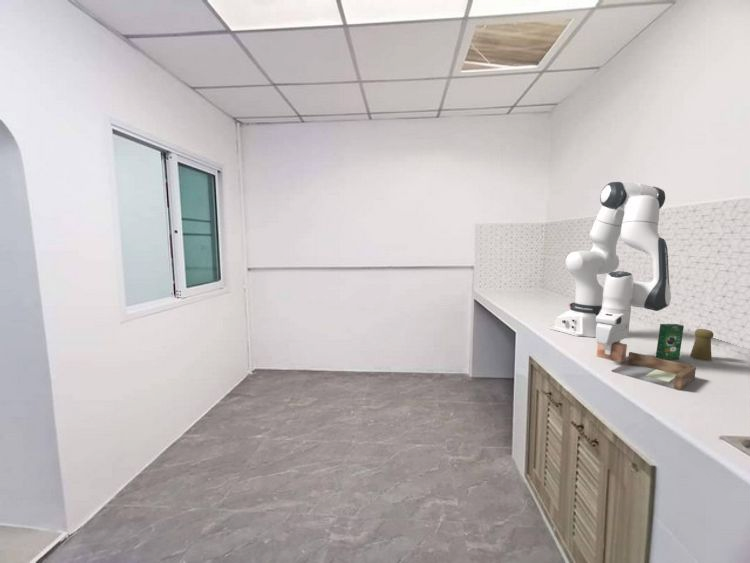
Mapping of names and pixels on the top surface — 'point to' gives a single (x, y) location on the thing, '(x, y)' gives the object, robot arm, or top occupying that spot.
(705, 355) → the cork
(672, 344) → the coffee box
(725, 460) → the top surface
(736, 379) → the top surface
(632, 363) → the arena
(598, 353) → the terracotta block
